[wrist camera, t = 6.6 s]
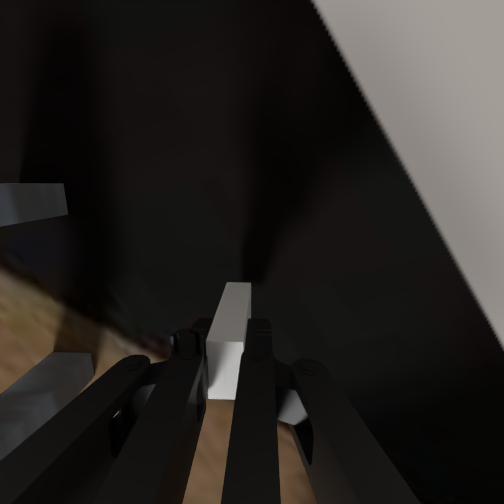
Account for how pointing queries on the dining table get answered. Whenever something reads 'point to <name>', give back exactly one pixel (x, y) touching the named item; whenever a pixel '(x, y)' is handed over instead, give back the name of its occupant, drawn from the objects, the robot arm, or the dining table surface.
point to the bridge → (55, 364)
